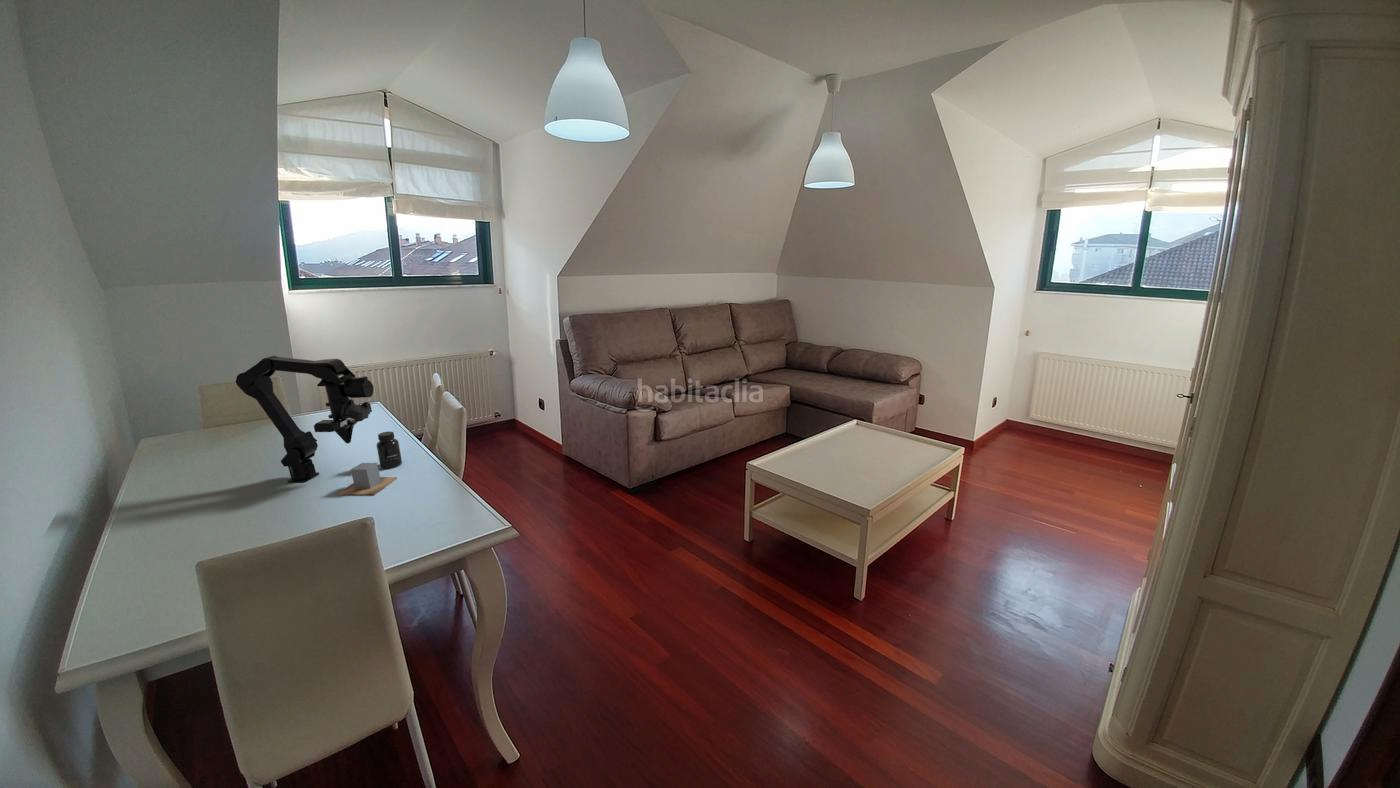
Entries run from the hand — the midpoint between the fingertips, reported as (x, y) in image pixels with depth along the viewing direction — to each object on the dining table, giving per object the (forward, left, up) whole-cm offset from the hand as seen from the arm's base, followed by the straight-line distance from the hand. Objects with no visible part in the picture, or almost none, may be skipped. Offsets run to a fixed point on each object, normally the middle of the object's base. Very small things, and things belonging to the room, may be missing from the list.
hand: (348, 443), depth 179 cm
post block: (+10, -8, -12) cm, 18 cm away
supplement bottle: (+7, +9, -12) cm, 17 cm away
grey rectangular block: (+10, -8, -11) cm, 17 cm away
